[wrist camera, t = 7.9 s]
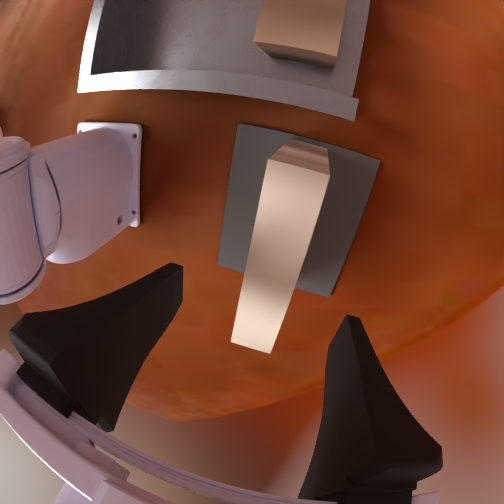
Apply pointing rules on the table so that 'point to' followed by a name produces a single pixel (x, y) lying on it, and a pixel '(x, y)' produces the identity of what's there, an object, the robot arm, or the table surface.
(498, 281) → the table surface
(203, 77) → the tray
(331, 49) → the offcut
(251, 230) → the rubber pad
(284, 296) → the birch block
